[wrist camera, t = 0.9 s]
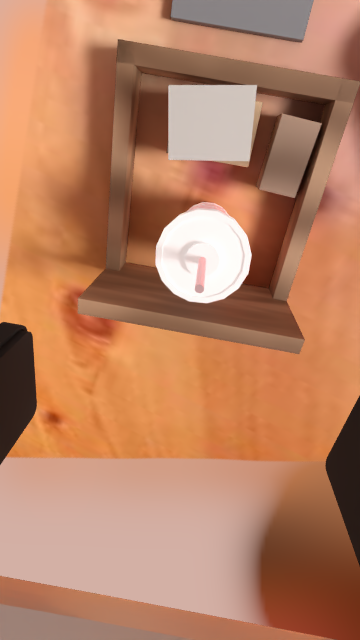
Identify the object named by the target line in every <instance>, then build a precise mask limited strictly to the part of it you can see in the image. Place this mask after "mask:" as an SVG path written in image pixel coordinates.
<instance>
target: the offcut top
mask: <svg viewBox="0 0 360 640" xmlns="http://www.w3.org/2000/svg"><path fill="white" fill-rule="evenodd" d="M256 90H257V85H168V160H205V161H250V151H251V141H252V131H253V121H254V110H255V100H256Z"/></svg>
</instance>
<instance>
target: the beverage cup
mask: <svg viewBox="0 0 360 640" xmlns="http://www.w3.org/2000/svg"><path fill="white" fill-rule="evenodd" d="M251 256H252V254H251V250H250V246H249V241H248V237H247V235H246V233H245V232H244V231H243V229H242V228H241V227H240V226H239V224H238V223H237V222H236V220H235V219H234V218H232V217H230V216H229V215H228V213H227V212H226V211H225V210H224V208H222V207H221V206H219V205H217V204H215V203H209V202H202V203H199V204H196V205H193V206H192V207H191V208H190V209H189V210H187V211H186V212H185V213H182V214H180V215H178V216H177V217H176V218H175V219H174V220H173V221H172V222H171V223H169V224H168V225H167V226H166V227H165V228H164V230H163V232H162V234H161V237H160V239H159V241H158V243H157V245H156V267H157V269H158V272H159V275H160V277H161V280H162V281H163V283H164V284H165V285H166V286H167V287H168V288H169V289H170V290H171V291H172V292H173V294H175V295H177V296H179V297H181V298H183V299H185V300H187V301H189V302H199V303H210V302H214V301H218V300H221V299H225V298H226V297H227V296H229V295H230V294H231V293H233V292H234V291H236V290H237V289H238V288H239V287H240V286H241V284H242V282H243V281H244V279H245V278H246V276H247V275H248V273H249V267H250V262H251Z"/></svg>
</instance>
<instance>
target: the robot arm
mask: <svg viewBox="0 0 360 640" xmlns="http://www.w3.org/2000/svg"><path fill="white" fill-rule="evenodd" d="M36 407H37V400H36V384H35V368H34V352H33V337H32V333H31V332H28V331H27V329H26V327H25V326H23V325H18V324H12V323H7V322H2V323H0V464H1V463H2V461H3V460H4V459H5V457H6V456H7V454H8V453H9V451H10V450H11V448H12V447H13V445H14V444H15V443H16V441H17V440H18V438H19V437H20V435H21V434H22V432H23V431H24V429H25V428H26V426H27V425H28V424H29V422H30V421H31V419H32V418H33V416H34V414H35V411H36ZM326 471H327V474H328V477H329V480H330V482H331V485H332V488H333V491H334V494H335V497H336V500H337V503H338V506H339V508H340V511H341V514H342V517H343V520H344V523H345V526H346V528H347V531H348V534H349V537H350V540H351V543H352V545H353V548H354V551H355V554H356V557H357V560H358V563H359V565H360V396H359V398H358V400H357V402H356V404H355V405H354V407H353V409H352V411H351V413H350V415H349V417H348V419H347V421H346V423H345V424H344V426H343V428H342V430H341V432H340V434H339V436H338V438H337V440H336V442H335V443H334V445H333V447H332V449H331V451H330V453H329V455H328V457H327V459H326ZM0 640H334V639H329V638H324V637H319V636H314V635H309V634H304V633H298V632H294V631H289V630H283V629H279V628H273V627H268V626H263V625H257V624H253V623H247V622H242V621H237V620H232V619H227V618H221V617H216V616H210V615H205V614H200V613H195V612H190V611H184V610H179V609H174V608H169V607H163V606H158V605H153V604H148V603H143V602H137V601H132V600H127V599H122V598H116V597H111V596H106V595H100V594H95V593H90V592H84V591H79V590H73V589H68V588H62V587H57V586H51V585H46V584H41V583H35V582H30V581H25V580H19V579H13V578H8V577H2V576H0Z"/></svg>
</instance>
